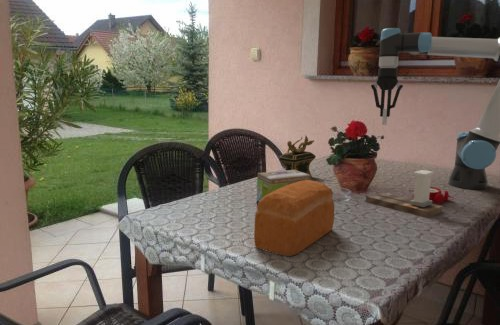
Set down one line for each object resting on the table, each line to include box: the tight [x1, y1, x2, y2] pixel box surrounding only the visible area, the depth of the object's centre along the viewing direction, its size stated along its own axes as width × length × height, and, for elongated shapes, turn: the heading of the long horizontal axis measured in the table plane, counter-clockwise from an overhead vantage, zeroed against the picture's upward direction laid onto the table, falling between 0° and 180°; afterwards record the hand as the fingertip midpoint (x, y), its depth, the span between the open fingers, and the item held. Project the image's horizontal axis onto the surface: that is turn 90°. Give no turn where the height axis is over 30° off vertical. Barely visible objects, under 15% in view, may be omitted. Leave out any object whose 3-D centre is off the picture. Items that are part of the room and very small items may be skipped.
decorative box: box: [278, 134, 316, 177], centre depth 191 cm, size 20×10×20 cm, turn 135°
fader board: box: [365, 191, 444, 218], centre depth 147 cm, size 24×10×2 cm, turn 40°
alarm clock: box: [408, 186, 455, 205], centre depth 155 cm, size 10×6×15 cm
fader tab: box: [410, 169, 434, 207], centre depth 140 cm, size 5×6×11 cm
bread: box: [253, 180, 335, 257], centre depth 116 cm, size 14×26×16 cm, turn 144°
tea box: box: [255, 169, 312, 213], centre depth 135 cm, size 15×10×15 cm
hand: (384, 124), depth 173 cm, fingers closed
